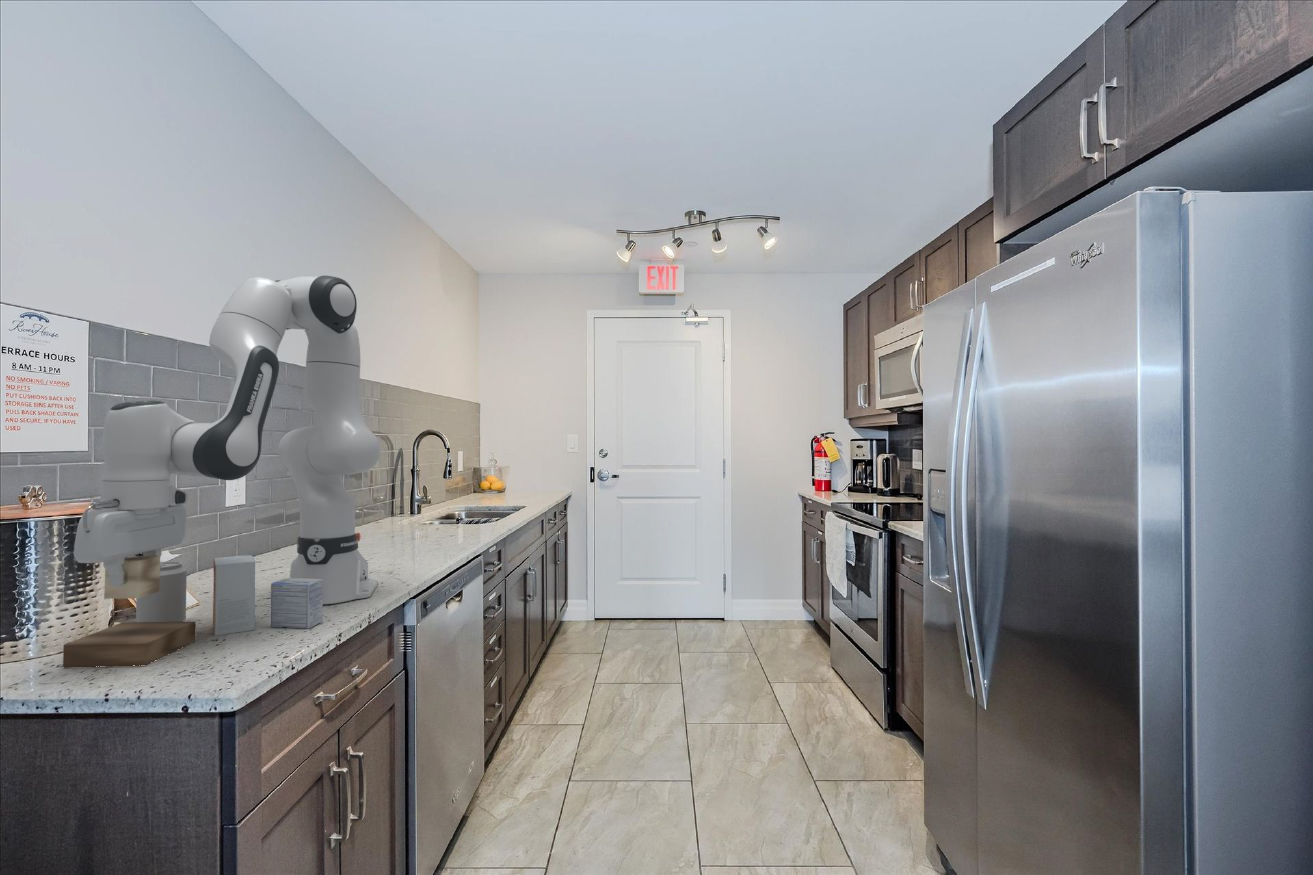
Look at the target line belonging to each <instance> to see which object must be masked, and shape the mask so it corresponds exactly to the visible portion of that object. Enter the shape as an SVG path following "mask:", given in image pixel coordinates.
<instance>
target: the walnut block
mask: <svg viewBox="0 0 1313 875" xmlns="http://www.w3.org/2000/svg"><path fill="white" fill-rule="evenodd" d="M191 643H192V644H195V643H196V621H189V620H188V621H183V622H136V621H135V622H134V621H133V622H132V621H130V622H129V621H127V622H126V621H125V622H123V621H122V622H120V623H117V624H115V625H113V626H112V625H111V626H109V627H107V628H104V629H101V630H99V631H96V632H94V633H91V634H89V635H86V636H83V637H81V638H78V639H75V640H73V641H70V642H67V643H66V644H63V653H62V654H63V656H62V665H63V666H62V668H63V667H92V668H101V667H100V666H133V665H135V666H138V667H142V666H141V665H148V664H150V663H151V662H154V661H155V660H158V659H160V658H162V657H164V656H166V657H168V656H169V655H168V654H170V655H171V653H172V654H173V652H174V653H176V652H177V650H178V649H180V650H181V648H182V647H184V648H185V646H186V647H187V645H188V646H190V645H192V644H191ZM182 649H183V648H182ZM178 651H179V650H178ZM167 655H168V656H167ZM164 658H165V657H164ZM162 659H163V658H162ZM160 660H161V659H160ZM158 661H159V660H158ZM154 663H155V662H154ZM139 665H140V666H139ZM150 665H151V664H150ZM96 666H97V667H96ZM98 666H99V667H98ZM148 666H149V665H148Z"/></svg>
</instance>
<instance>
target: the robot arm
mask: <svg viewBox="0 0 1313 875" xmlns="http://www.w3.org/2000/svg"><path fill="white" fill-rule="evenodd" d="M357 302H358V301H357V296H356V294H355V292H354V290H353V288H352V286H351V285H350V284H349V283H348V282H347V280H345V279H342V278H340V277H337V276H332V275H320V276H315V275H314V276H313V275H312V276H311V275H305V276H297V277H294V278H293V277H291V278H287V279H282V280H281V279H280V280H277V279H276V280H273V279H271V278H267V277H264V276H263V277H262V276H254V277H250V278H247V279H246V280H244V281H243V282H242V283H241V284H240V285H239V286H238V287H237V288H236V290H235V291H234V292H233V293H232V294H231V296H230V297H229V298H228V300H227V301H226V303H225V304H224V306H223V308H222V309H221V311H220V313H219V315H218V317H217V318H216V321H215V322H214V325H213V327H212V329H211V332H210V335H209V341H208V342H209V343H208V344H209V347H210V349H211V352H212V354H213V355H214V357H215V358H216V359H217V360H218V361H219V362H220V363H221V364H223V365H224V366H226V367H227V368H229V369H231V370H232V371H233V372H235V376H236V381H235V383H234V386H233V389H232V392H231V396H230V399H229V401H228V404H227V407H226V410H225V413H224V415H223V416H221V417H220V418H219V419H218V420H216V421H214V422H196V421H195V420H192V419H190V418H187V417H185V416H183V415H181V414H180V413H178V412H176V411H175V410H173V409H172V408H171V407H169V405H168V404H167V403H166V402H165V401H161V400H142V401H128V402H127V401H126V402H121V403H117V404H115V405H114V406H112V407H111V408H109V410H108V412H107V414H106V417H105V421H104V425H103V431H102V440H101V443H102V444H101V456H102V458H103V462H104V469H103V472H102V473H101V478H100V494H99V495H100V496H99V497H100V498H99V500H100V501H94V502H91V503H90V504H89V506H88V507H86V509H84V510H83V511H82V512H83V513H82V517H81V518H80V519H79V521H78V524H77V528H76V534H75V539H74V547H73V558H74V559H75V560H76V562H77V563H80V564H100V563H102V565H103V566H102V567H103V568H104V569H106V571H107V573H108V575H109V585H110V586H121V585H123V584H126V583H127V582H128V580H127V578H128V573H124V571H123V568H122V566H121V564H124V557H127V556H137V555H139V554H140V555H141V554H142V556H160V558H161V556H162V549H165V548H169V547H174V546H177V545H178V546H179V545H181V544H182V542H183V541H184V539H185V537H186V531H187V530H186V529H187V509H186V506H185V505H186V504H187V503H188V502H189V494H188V492H187V491H184V490H182V489H179V488H177V487H176V486H173V485H171V474H173V475H177V476H189V477H201V478H202V477H203V478H210V479H212V478H213V479H217V480H222V481H236V480H239V479H242V478H243V477H245V476H247V475H249V474H250V473H251V472H252V471H253V470H254V468H255V467H256V465H257V464H258V462H259V460H260V457H261V452H262V442H263V441H262V440H263V439H262V438H263V431H264V430H263V429H264V426H265V423H266V422H265V421H266V419H267V416H268V412H269V408H270V405H271V402H272V398H273V395H274V392H275V389H276V384H277V382H278V381H277V380H278V376H279V373H280V372H279V371H280V370H279V369H280V361H279V358H278V356H277V355H278V350H279V348H280V346H281V345H280V344H281V342H282V340H283V338H284V336H285V333H286V330H287V331H288V330H304V332H305V335H306V336H307V340H308V344H307V349H306V350H307V351H306V357H305V358H306V360H305V374H304V393H303V394H304V395H303V396H304V398H305V401H306V402H307V403H308V404H309V405H310V406H311V407H312V408H313V410H314V413H315V416H316V420H317V425H311V426H310V425H308V426H302V427H299V428H296V429H292V430H291V431H288V432H287V433H286V434H284V435H283V437H282V438H281V439H280V442H279V445H278V451H277V452H278V457H279V459H280V461H281V462H282V464H283V465H285V467H286V468H287V469H288V470H289V472H290V475H291V477H292V479H293V482H294V485H295V489H296V491H297V496H298V502H299V536H298V537H297V542H296V547H297V548H296V553H297V556H296V558H295V559H293V560H292V561H291V563H290V569H289V578H306V579H322V580H323V605H329V604H332V605H333V604H337V603H344V602H349V601H353V600H358V599H366V598H371V596H372V595H373V593H374V591H375V590H376V588H377V586H378V585H379V580H378V579H375V578H369V564H368V563H369V562H368V560H366V558H365V557H364V556H363V555H362V554H361V553H360V552H359V550H358V549H359V544H358V543H359V542H360V541H361V537H362V536H361V533H360V532H356V529H355V528H356V502H355V499H354V497H353V496H352V494H351V493H349V492H348V490H347V489H346V487H345V485H344V481H343V478H342V476H352V475H356V474H361V473H364V472H368V471H370V470H372V469H373V468H374V466H376V465H377V463H378V461H379V459H380V456H381V445H380V442H379V439H378V437H377V436H376V435H375V434H374V433H373V431H372V430H370V429H369V427H368V425H367V423H366V421H365V417H364V415H363V411H362V406H361V400H360V385H361V384H360V382H361V381H360V379H361V345H360V339H359V332H358V329H357V327H356V326H355V324H354V322H355V319H356V316H357V315H356V314H357V309H358V307H357V306H358V305H357Z"/></svg>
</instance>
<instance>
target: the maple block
mask: <svg viewBox="0 0 1313 875" xmlns="http://www.w3.org/2000/svg"><path fill="white" fill-rule="evenodd" d="M160 562H161V557H160V556H143V555H131V556H127V557H124V564H121V566H122V568H123V571H124V573H128V578H127V580H128V582H127V583H126V584H123V585H121V586H110V585H109V575H108V573H107V571H106V569H105V568H104V569H105V570H104V572H105V573H104V597H103V598H104V600H109V599H110V600H114V599H115V600H116V599H117V600H118V599H122V600H123V599H125V600H126V599H127V600H128V599H136V598H141V597H144V596H147V595H150V594H153V593H156V592H159V583H160Z"/></svg>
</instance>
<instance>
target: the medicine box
mask: <svg viewBox="0 0 1313 875" xmlns="http://www.w3.org/2000/svg"><path fill="white" fill-rule="evenodd" d="M323 605H324V604H323V580H322V579H306V578H290V577H285V578H282V579H278V580H276V581H274V582H272V583H270V628H282V627H287V629H289V628H290V629H311V628H313V627H312V626H314V627H315V625H316V626H318V625H319V624H318V623H320V624H321V623H323V613H324V611H323ZM317 624H318V625H317ZM310 627H311V628H310Z"/></svg>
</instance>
